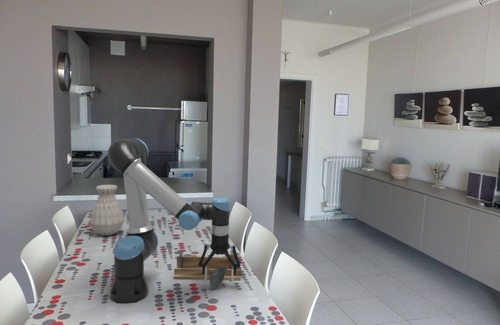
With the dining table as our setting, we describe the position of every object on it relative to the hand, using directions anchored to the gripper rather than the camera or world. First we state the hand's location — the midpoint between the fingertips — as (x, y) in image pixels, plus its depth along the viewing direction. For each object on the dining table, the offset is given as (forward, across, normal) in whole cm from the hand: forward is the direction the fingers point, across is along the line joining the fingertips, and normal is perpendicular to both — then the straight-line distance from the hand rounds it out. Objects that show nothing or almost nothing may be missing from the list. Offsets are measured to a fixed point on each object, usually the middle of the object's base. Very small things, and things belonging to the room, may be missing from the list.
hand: (219, 281), depth 167 cm
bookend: (+1, +19, -13) cm, 23 cm away
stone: (+3, 0, 0) cm, 3 cm away
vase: (+3, +75, -73) cm, 105 cm away
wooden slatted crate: (+3, +6, -13) cm, 15 cm away
